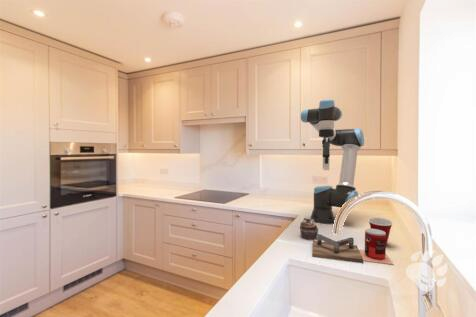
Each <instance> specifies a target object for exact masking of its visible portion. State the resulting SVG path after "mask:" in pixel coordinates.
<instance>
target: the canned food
mask: <svg viewBox="0 0 476 317" xmlns="http://www.w3.org/2000/svg"><path fill="white" fill-rule="evenodd" d="M386 246H387V245H386V233H385V232H384V231H382V230H378V229H371V228H366V229H365V230H364V250H365V255H366V256H367V257H369V258H372V259H377V260H382V259H385V253H386V250H387V248H386ZM386 254H387V253H386Z"/></svg>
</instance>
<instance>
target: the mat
mask: <svg viewBox="0 0 476 317" xmlns="http://www.w3.org/2000/svg"><path fill="white" fill-rule="evenodd" d="M359 251H360V254H361V256H362V258H363V262H367V263H375V264H382V265H389V266H390V265H392V266H394V263H393V261H392V260H391V259H390V256H388V254H387V253H385V259H382V260H377V259H372V258H369V257H367V256H366V255H365V249H359Z"/></svg>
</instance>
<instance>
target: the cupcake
mask: <svg viewBox="0 0 476 317" xmlns="http://www.w3.org/2000/svg"><path fill="white" fill-rule="evenodd" d="M299 229H300V236H301V238H302V239H304V240H308V241H316V240H317V234H319V228H318V226H317V224H316V222H314V220H313V219H312V218H311V217H310V218H306V217H305V218H303V221H302V222H300V226H299Z"/></svg>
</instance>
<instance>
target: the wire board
mask: <svg viewBox="0 0 476 317" xmlns="http://www.w3.org/2000/svg"><path fill="white" fill-rule="evenodd" d="M354 241H355V240H354V237H348V238H344V239H340V240H337V241H336V240H334V239H331V238H329V237H326V236H325V235H323V234H321V233H320V234H319V233H318V234H317V239H316V240H312V257H314V258H320V259H328V260H336V261H344V262H352V263H357V264H358V263H360V264H364V261H363V258H362V256H361V254H360V251H359V250H360V249H359V247H358V245H356V244H354V243H355V242H354Z"/></svg>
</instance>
